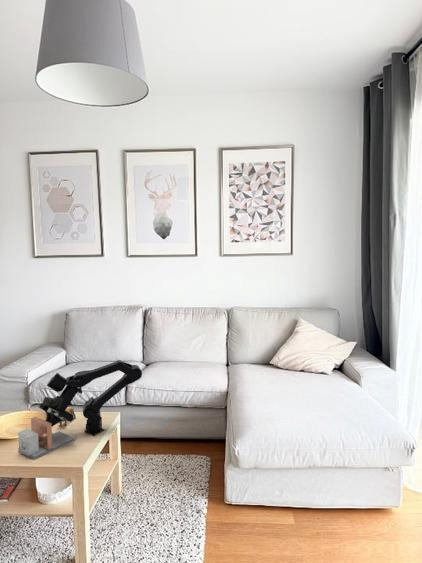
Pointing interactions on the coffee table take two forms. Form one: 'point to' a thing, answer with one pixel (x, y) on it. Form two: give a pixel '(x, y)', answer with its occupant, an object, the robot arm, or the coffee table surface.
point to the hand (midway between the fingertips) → (44, 430)
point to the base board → (53, 444)
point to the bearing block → (28, 442)
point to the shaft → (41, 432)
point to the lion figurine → (70, 413)
